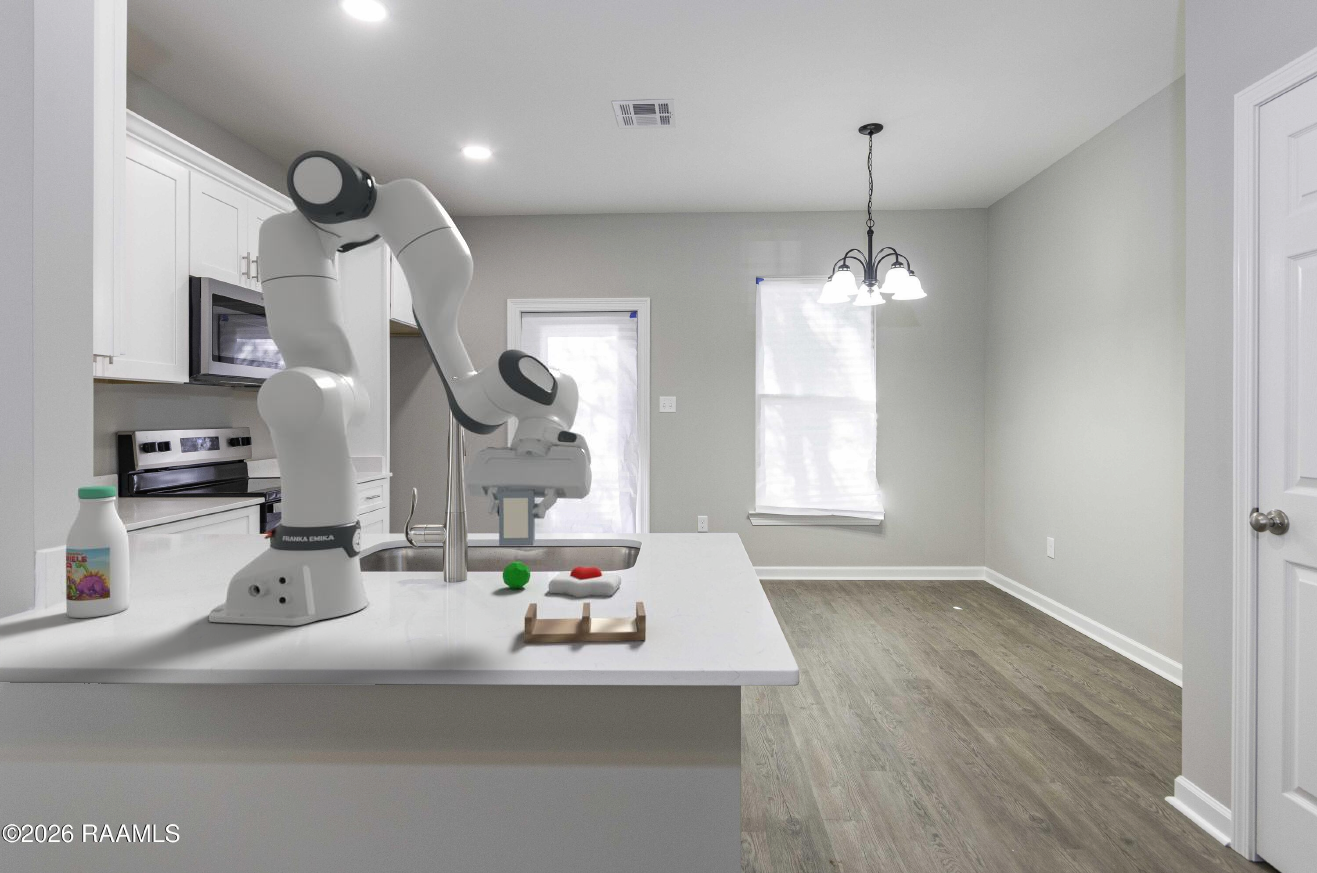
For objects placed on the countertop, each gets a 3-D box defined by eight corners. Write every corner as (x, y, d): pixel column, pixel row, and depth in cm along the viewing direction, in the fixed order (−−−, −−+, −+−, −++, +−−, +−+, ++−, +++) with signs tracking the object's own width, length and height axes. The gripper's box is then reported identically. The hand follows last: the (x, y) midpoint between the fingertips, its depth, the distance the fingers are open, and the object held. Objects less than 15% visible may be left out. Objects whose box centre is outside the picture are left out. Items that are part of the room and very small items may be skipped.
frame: (499, 546, 100) (498, 492, 100) (502, 542, 103) (501, 490, 103) (532, 545, 100) (532, 492, 100) (534, 541, 104) (534, 490, 103)
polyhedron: (524, 592, 121) (525, 565, 120) (498, 591, 121) (498, 564, 121) (533, 585, 126) (533, 560, 125) (508, 584, 126) (508, 559, 126)
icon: (543, 574, 118) (559, 562, 128) (543, 598, 118) (559, 584, 128) (611, 576, 116) (622, 564, 126) (611, 601, 116) (622, 587, 126)
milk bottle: (104, 603, 111) (102, 483, 110) (142, 607, 109) (140, 485, 109) (53, 617, 103) (51, 488, 103) (93, 621, 102) (91, 490, 101)
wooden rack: (524, 642, 93) (524, 617, 93) (529, 627, 100) (530, 603, 100) (645, 640, 95) (645, 615, 95) (642, 625, 102) (642, 601, 102)
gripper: (473, 434, 110) (444, 501, 101) (593, 435, 106) (575, 504, 97) (485, 460, 115) (458, 525, 105) (600, 461, 111) (583, 529, 102)
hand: (515, 515), depth 101 cm, fingers closed on frame, 6 cm apart
